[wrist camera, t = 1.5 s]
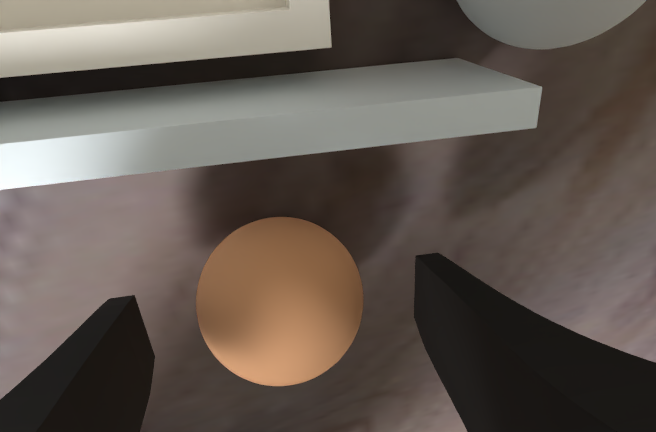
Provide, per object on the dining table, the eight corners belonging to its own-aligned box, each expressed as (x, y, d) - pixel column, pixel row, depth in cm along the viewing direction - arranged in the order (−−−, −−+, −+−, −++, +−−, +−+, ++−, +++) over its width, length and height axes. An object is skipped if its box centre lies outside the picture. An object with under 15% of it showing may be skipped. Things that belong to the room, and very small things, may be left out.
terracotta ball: (349, 301, 15) (383, 408, 11) (218, 321, 15) (206, 439, 11) (342, 182, 13) (380, 262, 9) (190, 200, 13) (164, 293, 9)
